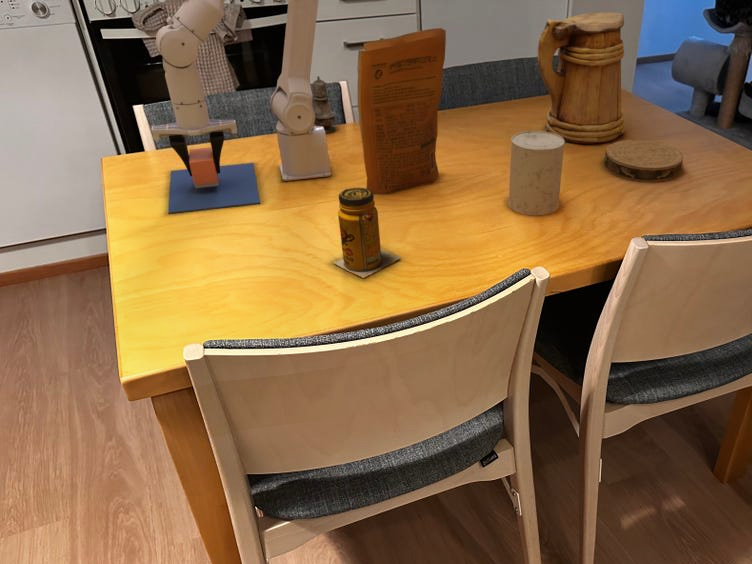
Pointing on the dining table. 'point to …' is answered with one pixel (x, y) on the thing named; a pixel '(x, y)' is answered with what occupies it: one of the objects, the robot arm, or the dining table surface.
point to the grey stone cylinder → (535, 172)
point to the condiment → (361, 233)
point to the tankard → (584, 76)
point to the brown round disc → (643, 160)
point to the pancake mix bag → (400, 109)
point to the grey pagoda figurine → (322, 107)
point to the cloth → (214, 190)
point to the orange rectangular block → (203, 167)
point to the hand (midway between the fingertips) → (205, 172)
